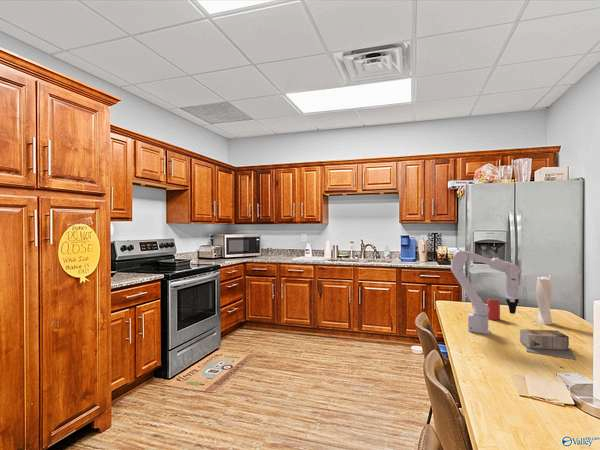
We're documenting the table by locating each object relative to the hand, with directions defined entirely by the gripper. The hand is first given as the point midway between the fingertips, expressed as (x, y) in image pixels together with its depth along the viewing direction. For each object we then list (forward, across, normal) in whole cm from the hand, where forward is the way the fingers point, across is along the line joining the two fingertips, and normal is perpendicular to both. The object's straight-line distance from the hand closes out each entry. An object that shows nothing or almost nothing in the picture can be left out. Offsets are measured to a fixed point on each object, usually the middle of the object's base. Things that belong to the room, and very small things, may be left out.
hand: (512, 313), depth 176 cm
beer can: (+11, +26, +10) cm, 30 cm away
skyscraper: (+11, +31, -16) cm, 36 cm away
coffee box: (+7, -18, -4) cm, 20 cm away
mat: (+10, -19, -14) cm, 26 cm away
